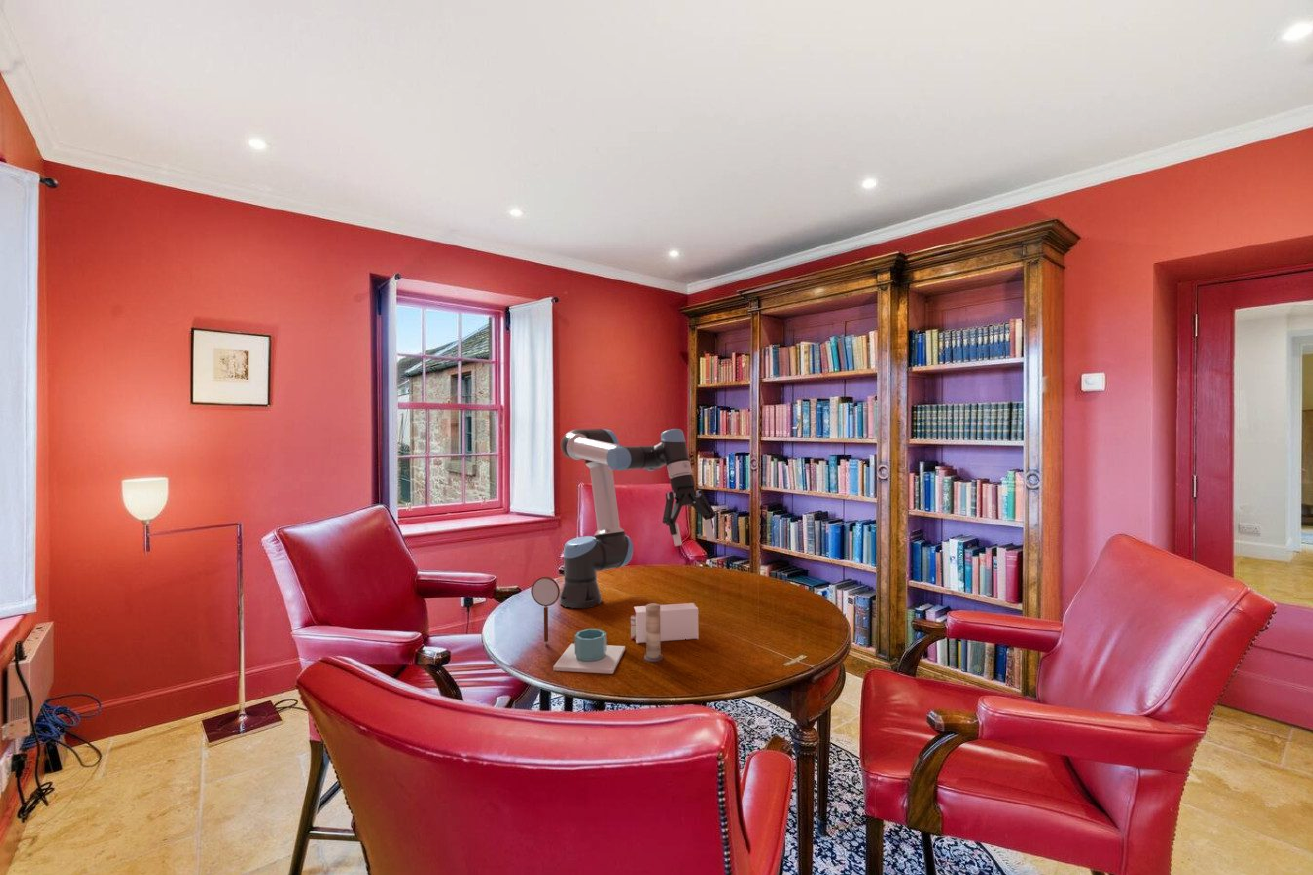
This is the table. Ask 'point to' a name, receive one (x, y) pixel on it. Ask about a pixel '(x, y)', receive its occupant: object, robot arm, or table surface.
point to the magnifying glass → (545, 597)
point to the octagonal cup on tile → (590, 654)
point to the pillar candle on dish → (653, 633)
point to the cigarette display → (668, 622)
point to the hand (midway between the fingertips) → (695, 542)
